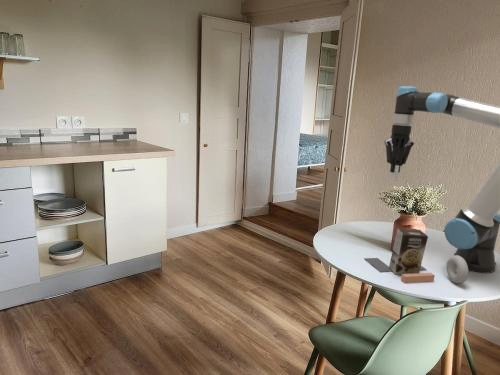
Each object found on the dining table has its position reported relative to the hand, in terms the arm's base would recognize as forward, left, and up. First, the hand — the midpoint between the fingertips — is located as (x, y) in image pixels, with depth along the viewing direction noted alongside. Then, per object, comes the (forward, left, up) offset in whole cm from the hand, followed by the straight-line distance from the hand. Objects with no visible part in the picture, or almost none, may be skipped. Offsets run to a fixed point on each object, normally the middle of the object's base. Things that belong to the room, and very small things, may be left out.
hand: (393, 179), depth 168 cm
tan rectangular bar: (+8, +35, -29) cm, 46 cm away
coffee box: (+8, +28, -29) cm, 41 cm away
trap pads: (+8, +21, -29) cm, 37 cm away
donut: (-6, +37, -30) cm, 48 cm away
